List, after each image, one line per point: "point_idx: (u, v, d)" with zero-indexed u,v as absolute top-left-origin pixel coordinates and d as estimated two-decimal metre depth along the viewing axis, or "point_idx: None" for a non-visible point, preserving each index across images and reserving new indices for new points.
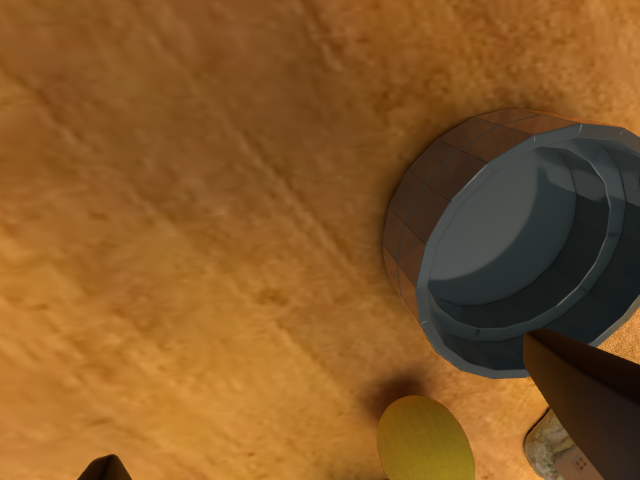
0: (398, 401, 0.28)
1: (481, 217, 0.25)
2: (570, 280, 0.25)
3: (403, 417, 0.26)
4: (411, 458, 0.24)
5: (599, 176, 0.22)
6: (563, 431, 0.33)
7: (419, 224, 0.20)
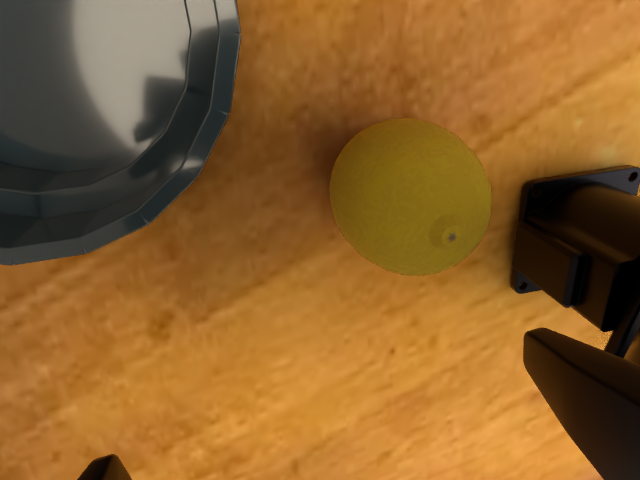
0: None
1: (12, 46, 0.15)
2: None
3: None
4: (366, 254, 0.15)
5: None
6: None
7: None
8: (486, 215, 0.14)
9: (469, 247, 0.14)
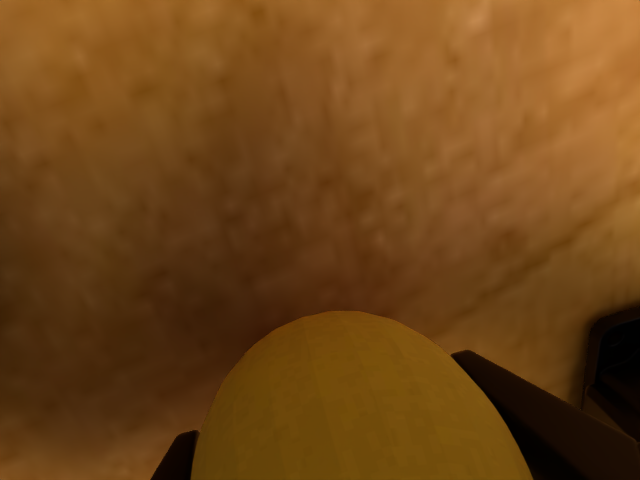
0: None
1: None
2: None
3: None
4: None
5: None
6: None
7: None
8: None
9: None
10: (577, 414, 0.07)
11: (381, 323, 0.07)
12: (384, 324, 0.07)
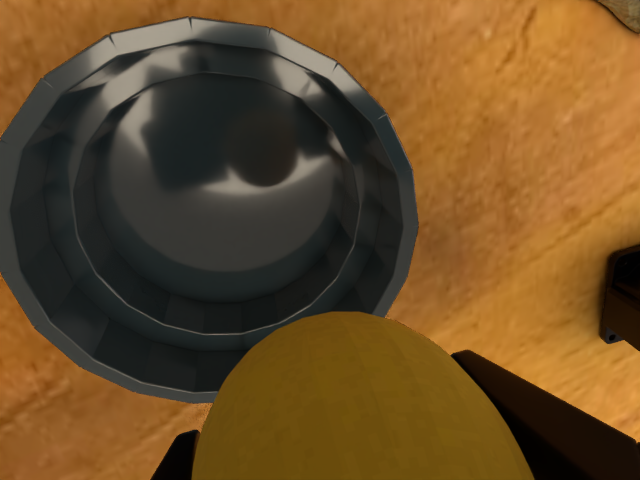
0: None
1: (210, 219, 0.19)
2: None
3: None
4: None
5: (105, 121, 0.14)
6: None
7: None
8: None
9: None
10: (577, 414, 0.07)
11: (382, 324, 0.07)
12: (385, 325, 0.07)
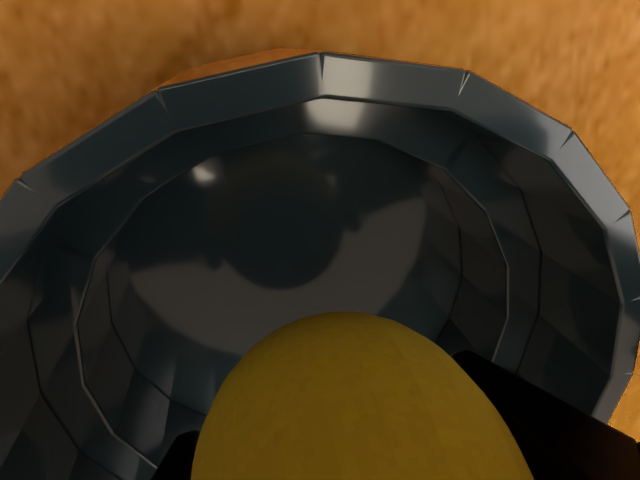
0: None
1: (273, 323, 0.13)
2: None
3: None
4: None
5: (131, 215, 0.09)
6: None
7: None
8: None
9: None
10: (577, 414, 0.07)
11: (382, 324, 0.07)
12: (385, 325, 0.07)
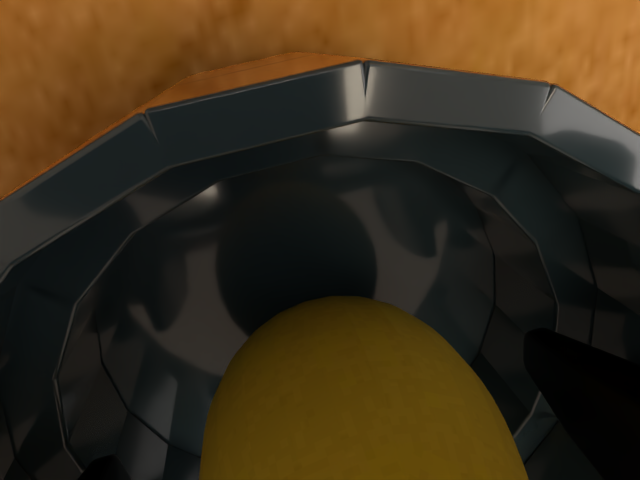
0: None
1: None
2: None
3: None
4: None
5: (120, 253, 0.07)
6: None
7: None
8: None
9: None
10: None
11: (378, 305, 0.08)
12: (380, 306, 0.08)
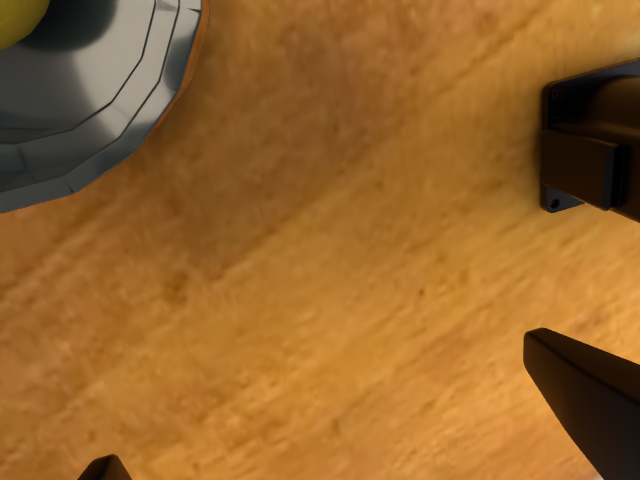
0: None
1: None
2: None
3: None
4: None
5: None
6: None
7: None
8: None
9: None
10: None
11: None
12: None
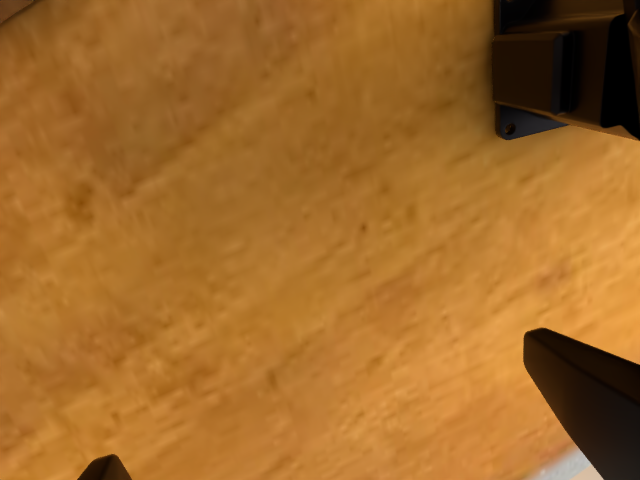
0: None
1: None
2: None
3: None
4: None
5: None
6: None
7: None
8: None
9: None
10: None
11: None
12: None
